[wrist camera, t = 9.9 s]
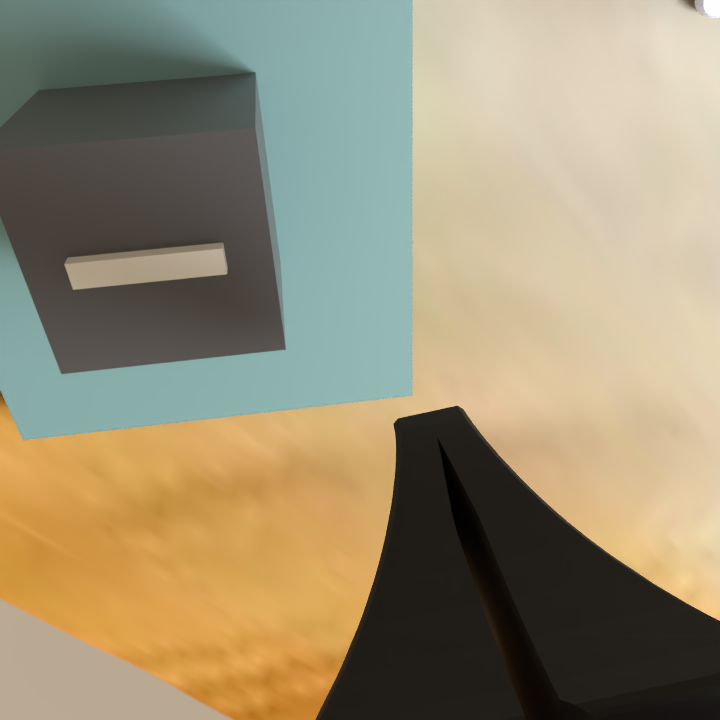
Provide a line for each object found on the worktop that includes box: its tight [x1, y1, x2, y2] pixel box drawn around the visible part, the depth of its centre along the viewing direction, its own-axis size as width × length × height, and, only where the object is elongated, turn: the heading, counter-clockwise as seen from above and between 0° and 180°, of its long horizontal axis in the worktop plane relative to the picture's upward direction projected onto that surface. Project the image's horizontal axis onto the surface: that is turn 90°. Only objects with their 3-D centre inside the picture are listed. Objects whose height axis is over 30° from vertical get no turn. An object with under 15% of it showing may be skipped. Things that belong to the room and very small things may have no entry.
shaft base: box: [0, 0, 412, 440], centre depth 17 cm, size 13×16×4 cm
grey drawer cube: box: [0, 73, 286, 374], centre depth 16 cm, size 5×5×5 cm
